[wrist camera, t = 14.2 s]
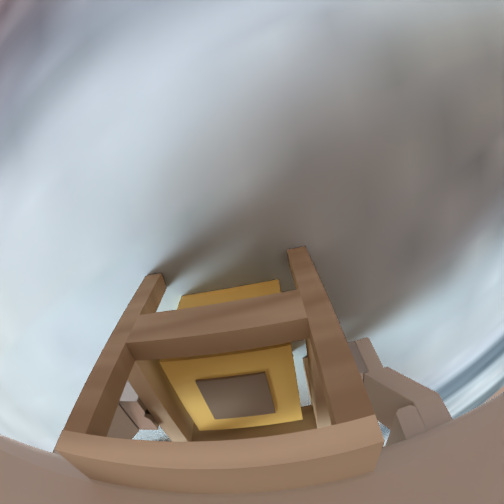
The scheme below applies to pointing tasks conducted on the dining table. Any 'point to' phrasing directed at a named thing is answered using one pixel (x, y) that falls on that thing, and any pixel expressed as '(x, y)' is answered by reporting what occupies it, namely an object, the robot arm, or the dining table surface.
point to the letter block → (236, 375)
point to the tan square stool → (226, 440)
